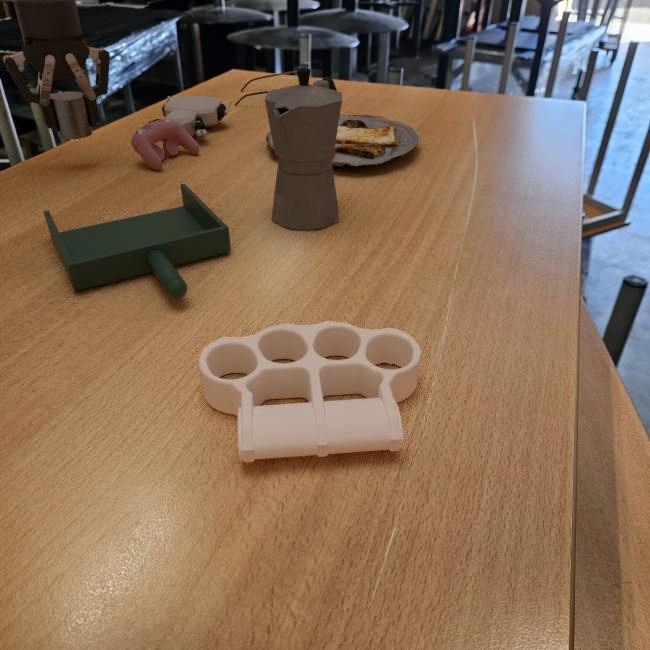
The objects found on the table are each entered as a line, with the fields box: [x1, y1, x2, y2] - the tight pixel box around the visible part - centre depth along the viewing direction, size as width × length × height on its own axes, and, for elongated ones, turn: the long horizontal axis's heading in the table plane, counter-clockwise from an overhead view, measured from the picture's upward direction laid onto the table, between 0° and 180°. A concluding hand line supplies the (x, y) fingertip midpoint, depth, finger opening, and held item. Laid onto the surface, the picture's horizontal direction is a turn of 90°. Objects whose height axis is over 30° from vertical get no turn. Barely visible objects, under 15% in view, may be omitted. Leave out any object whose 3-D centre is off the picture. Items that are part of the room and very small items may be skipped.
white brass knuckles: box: [198, 320, 422, 463], centre depth 46 cm, size 3×18×15 cm
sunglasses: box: [234, 69, 297, 107], centre depth 120 cm, size 14×15×5 cm
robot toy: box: [147, 95, 233, 138], centre depth 101 cm, size 12×4×15 cm
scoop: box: [42, 183, 232, 299], centre depth 64 cm, size 23×17×4 cm
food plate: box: [265, 114, 422, 167], centre depth 95 cm, size 25×23×4 cm
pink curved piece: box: [130, 119, 200, 172], centre depth 89 cm, size 10×5×7 cm, turn 149°
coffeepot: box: [264, 66, 343, 232], centre depth 70 cm, size 15×9×18 cm, turn 157°
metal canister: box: [49, 91, 93, 140], centre depth 83 cm, size 5×5×6 cm
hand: (73, 127), depth 84 cm, fingers closed on metal canister, 4 cm apart
